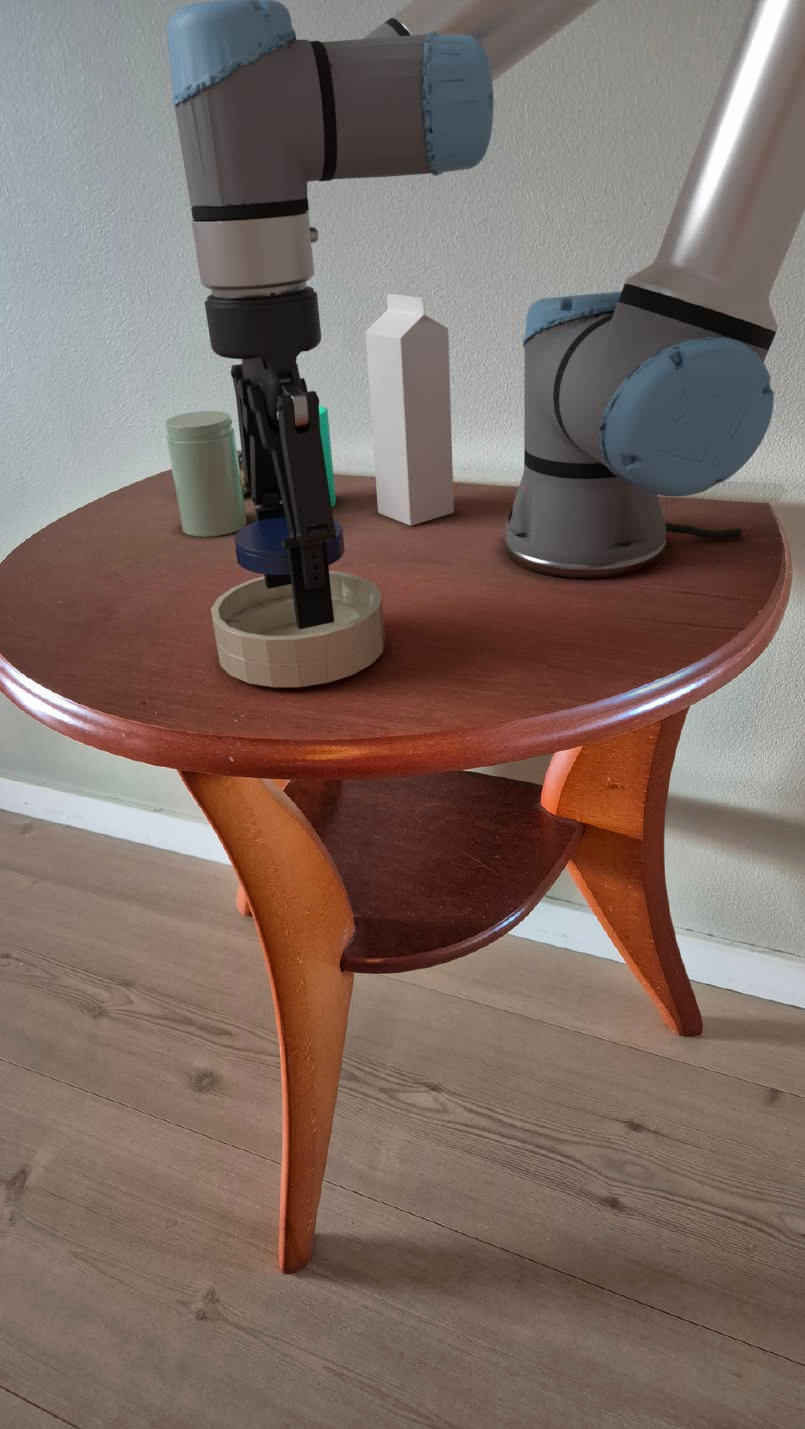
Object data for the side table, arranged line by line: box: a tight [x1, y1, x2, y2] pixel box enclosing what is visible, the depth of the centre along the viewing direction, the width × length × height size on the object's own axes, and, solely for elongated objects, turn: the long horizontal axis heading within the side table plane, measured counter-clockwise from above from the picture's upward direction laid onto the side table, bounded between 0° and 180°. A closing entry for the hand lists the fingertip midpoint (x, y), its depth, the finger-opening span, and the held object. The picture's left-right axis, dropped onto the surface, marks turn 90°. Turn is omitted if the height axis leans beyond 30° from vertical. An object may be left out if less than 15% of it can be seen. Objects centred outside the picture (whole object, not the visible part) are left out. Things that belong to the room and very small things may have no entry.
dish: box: [210, 570, 386, 688], centre depth 78 cm, size 13×13×4 cm
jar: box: [165, 410, 248, 538], centre depth 105 cm, size 7×7×12 cm
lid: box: [233, 515, 345, 575], centre depth 75 cm, size 8×8×2 cm
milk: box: [365, 293, 455, 527], centre depth 102 cm, size 6×6×22 cm
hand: (298, 602), depth 77 cm, fingers closed on lid, 8 cm apart
